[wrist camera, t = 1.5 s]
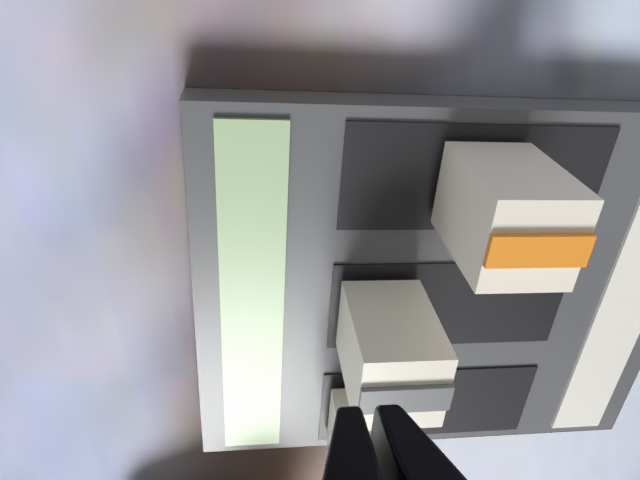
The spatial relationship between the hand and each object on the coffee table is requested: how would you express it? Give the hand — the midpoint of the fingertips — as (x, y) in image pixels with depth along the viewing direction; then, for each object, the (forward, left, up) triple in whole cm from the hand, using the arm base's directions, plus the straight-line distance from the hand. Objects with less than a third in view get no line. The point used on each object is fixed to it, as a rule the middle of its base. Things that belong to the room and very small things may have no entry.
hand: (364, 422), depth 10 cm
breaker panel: (-6, +5, -12) cm, 14 cm away
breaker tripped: (-6, 0, -10) cm, 12 cm away
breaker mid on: (-3, +5, -10) cm, 12 cm away
